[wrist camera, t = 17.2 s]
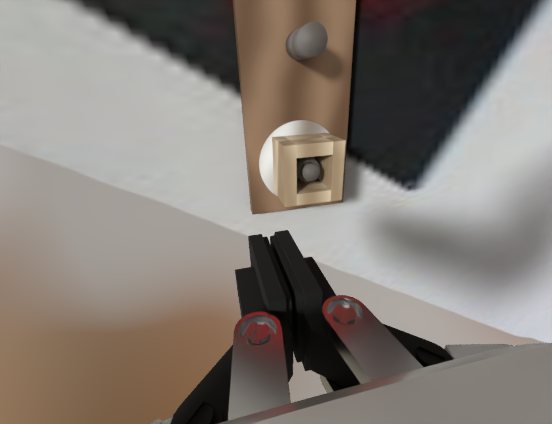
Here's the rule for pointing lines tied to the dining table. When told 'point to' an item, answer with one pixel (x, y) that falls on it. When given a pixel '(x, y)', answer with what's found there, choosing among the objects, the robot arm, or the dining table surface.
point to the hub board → (291, 82)
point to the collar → (326, 154)
